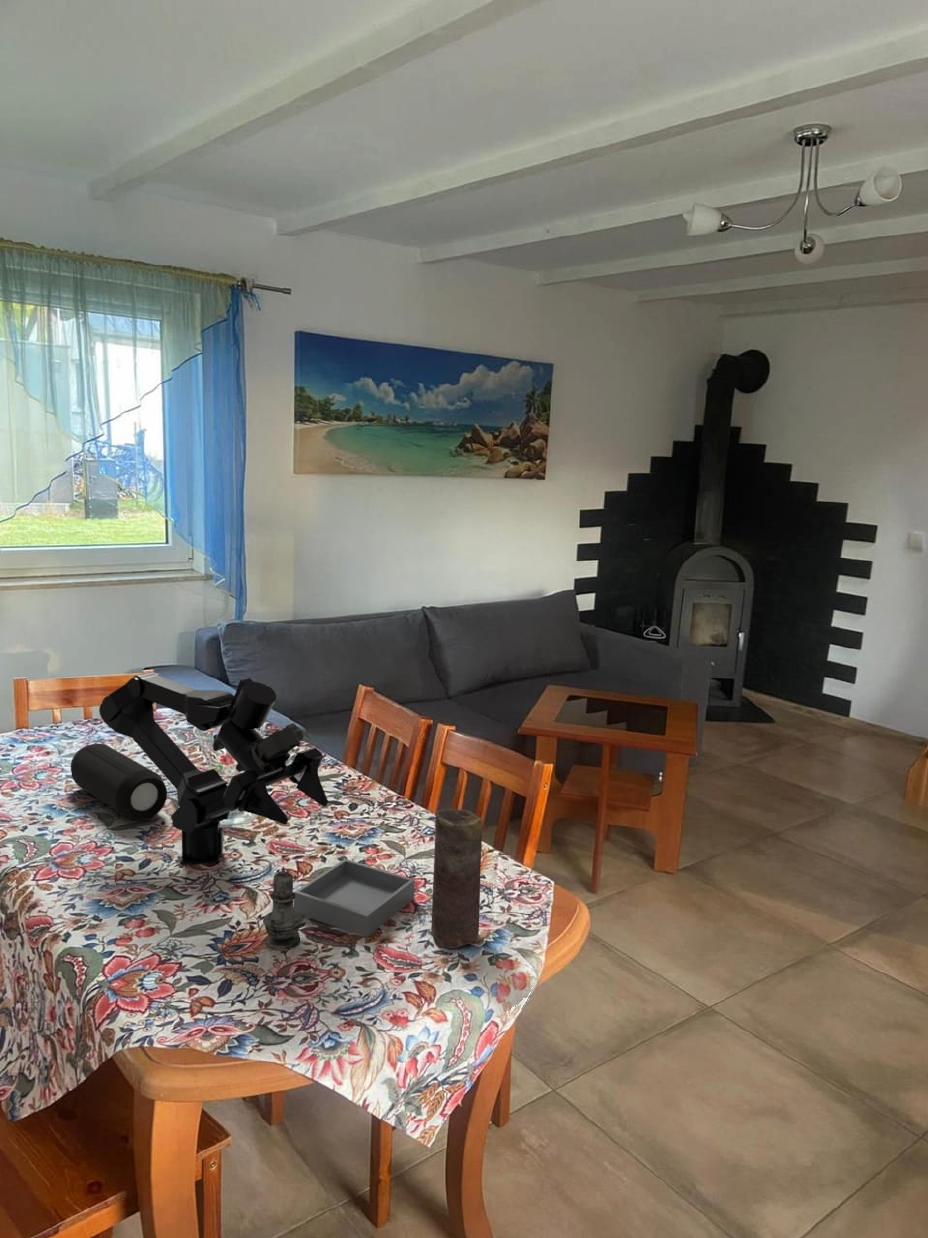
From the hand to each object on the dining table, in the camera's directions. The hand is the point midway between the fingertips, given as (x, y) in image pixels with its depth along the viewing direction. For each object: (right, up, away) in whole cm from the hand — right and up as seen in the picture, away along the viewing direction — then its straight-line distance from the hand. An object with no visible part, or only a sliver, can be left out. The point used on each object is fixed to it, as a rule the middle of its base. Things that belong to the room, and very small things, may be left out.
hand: (307, 813), depth 145 cm
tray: (+8, -15, +2) cm, 17 cm away
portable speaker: (-45, -6, +38) cm, 59 cm away
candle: (+24, -18, -6) cm, 30 cm away
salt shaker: (-2, -17, -10) cm, 20 cm away
